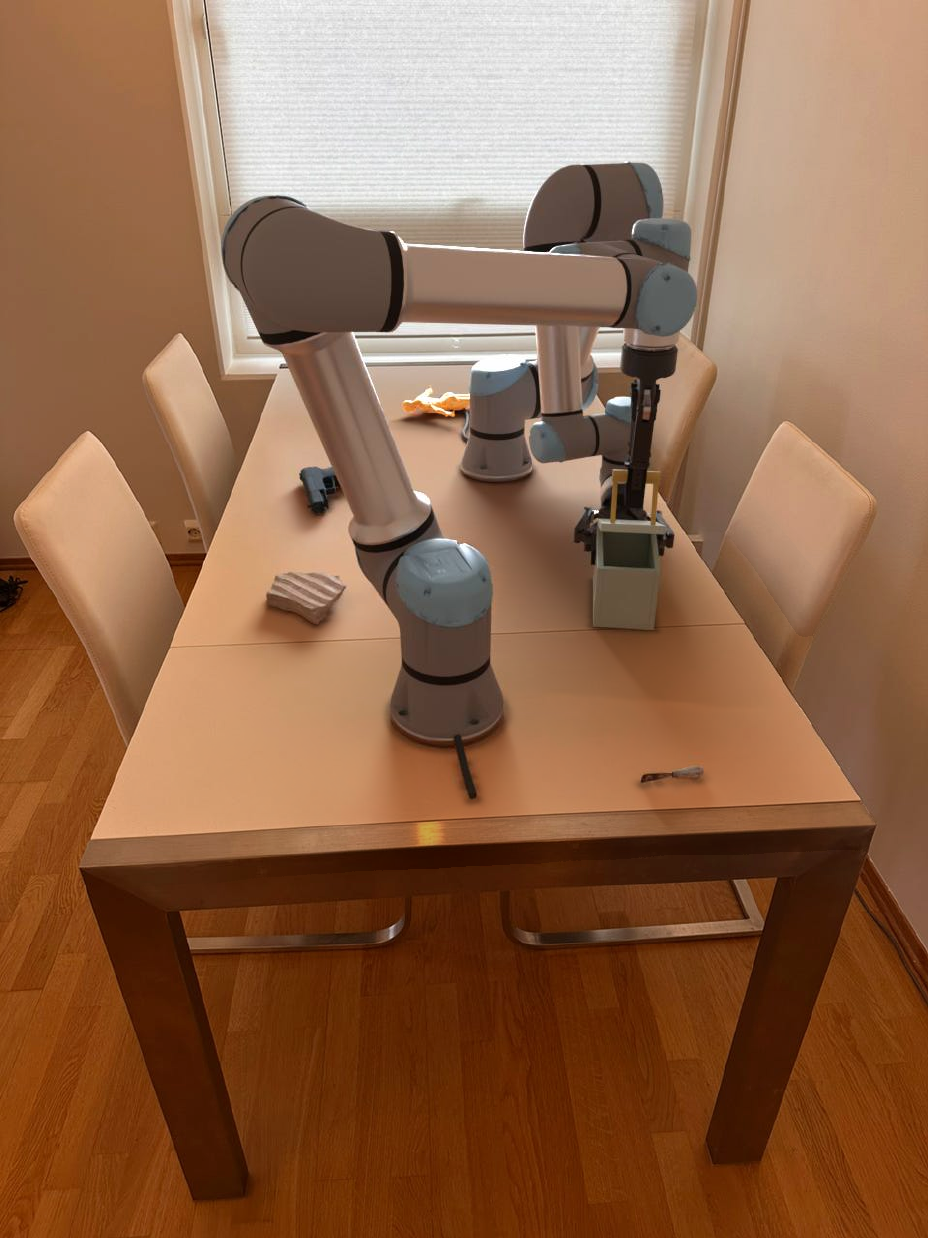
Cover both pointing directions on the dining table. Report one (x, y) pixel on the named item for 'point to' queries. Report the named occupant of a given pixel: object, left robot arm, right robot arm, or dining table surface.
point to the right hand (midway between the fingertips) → (624, 559)
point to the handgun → (318, 487)
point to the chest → (625, 580)
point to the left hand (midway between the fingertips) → (633, 503)
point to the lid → (633, 525)
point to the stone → (305, 593)
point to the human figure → (438, 403)
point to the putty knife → (674, 774)
